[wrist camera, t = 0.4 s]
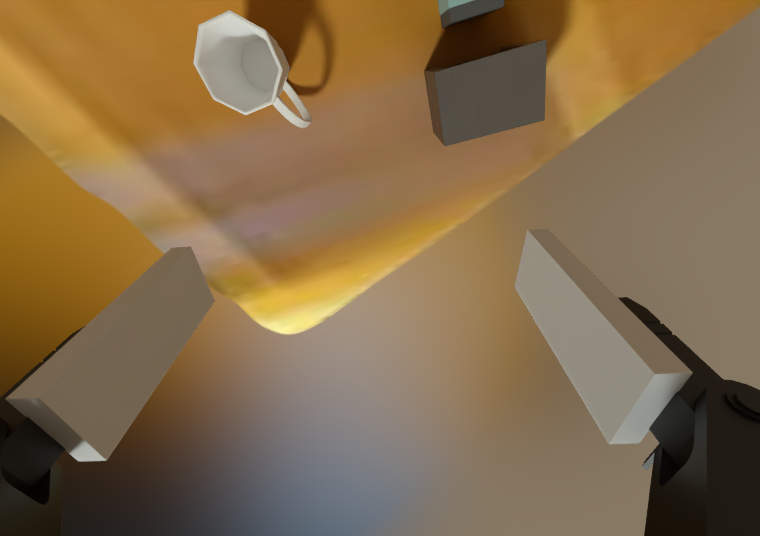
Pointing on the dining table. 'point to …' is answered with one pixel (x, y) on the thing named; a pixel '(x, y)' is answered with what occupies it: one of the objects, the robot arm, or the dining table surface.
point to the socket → (488, 93)
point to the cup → (245, 67)
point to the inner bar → (465, 10)
